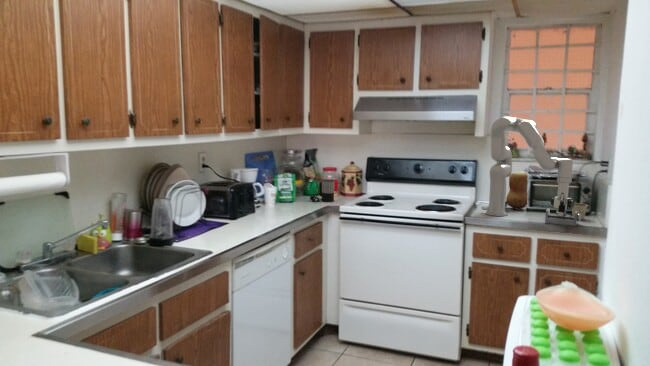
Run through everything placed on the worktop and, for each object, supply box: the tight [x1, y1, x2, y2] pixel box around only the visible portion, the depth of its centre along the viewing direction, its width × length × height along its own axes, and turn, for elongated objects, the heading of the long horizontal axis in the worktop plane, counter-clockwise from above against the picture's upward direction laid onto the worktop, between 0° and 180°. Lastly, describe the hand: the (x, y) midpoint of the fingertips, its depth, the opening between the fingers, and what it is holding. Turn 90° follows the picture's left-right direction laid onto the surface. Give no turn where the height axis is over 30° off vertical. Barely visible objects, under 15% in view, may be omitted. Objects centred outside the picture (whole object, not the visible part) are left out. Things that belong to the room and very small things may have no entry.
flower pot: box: [571, 202, 589, 220], centre depth 308 cm, size 9×9×9 cm
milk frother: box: [309, 178, 336, 203], centre depth 356 cm, size 14×16×15 cm
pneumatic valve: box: [550, 196, 576, 217], centre depth 294 cm, size 6×12×12 cm, turn 40°
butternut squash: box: [505, 170, 529, 210], centre depth 336 cm, size 14×13×25 cm
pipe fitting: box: [544, 207, 582, 227], centre depth 294 cm, size 18×10×7 cm, turn 61°
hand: (561, 211), depth 294 cm, fingers closed on pneumatic valve, 6 cm apart
